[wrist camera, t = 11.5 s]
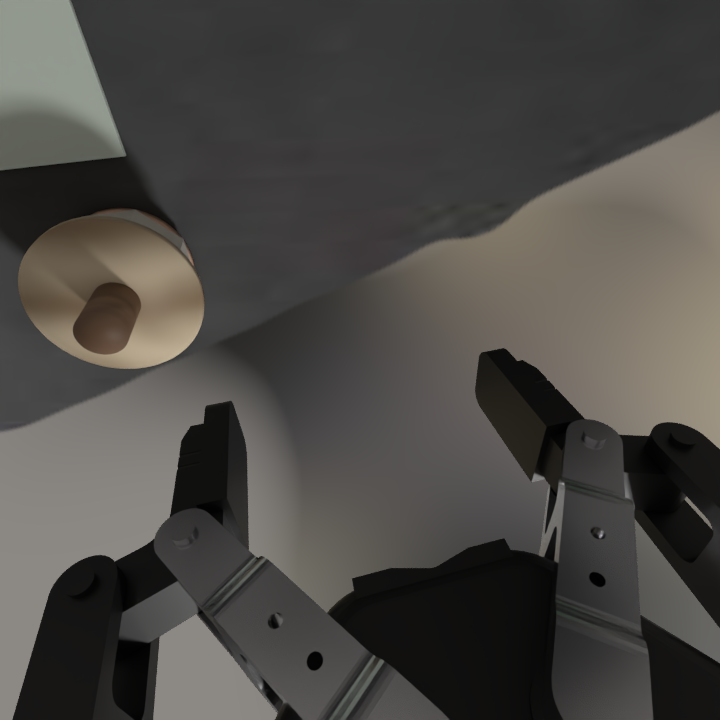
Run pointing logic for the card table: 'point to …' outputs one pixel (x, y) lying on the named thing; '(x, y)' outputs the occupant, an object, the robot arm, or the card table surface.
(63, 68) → the mat
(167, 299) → the lid
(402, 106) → the card table surface
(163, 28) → the card table surface
